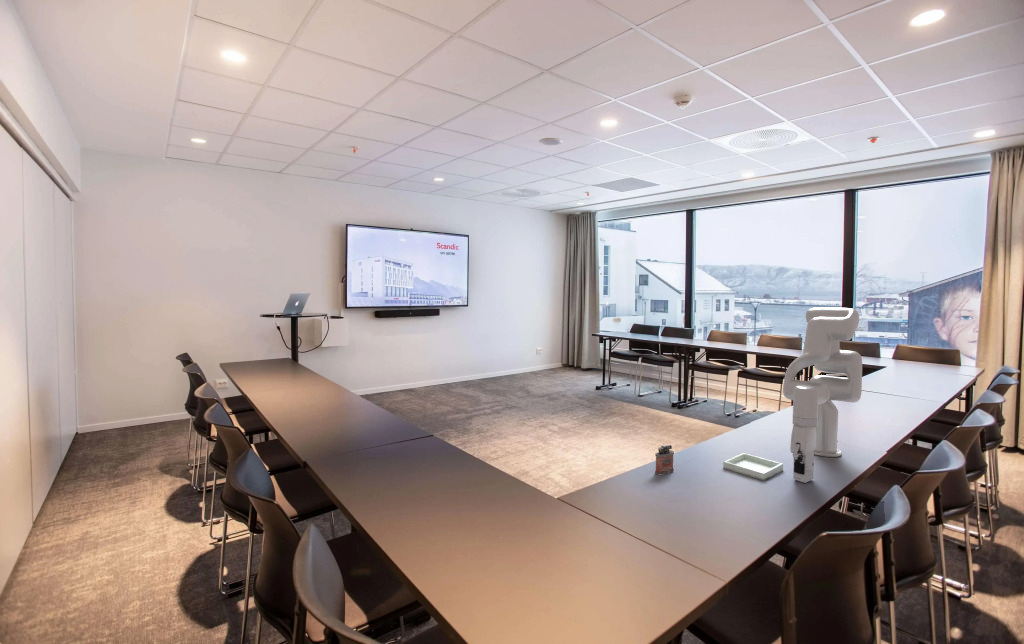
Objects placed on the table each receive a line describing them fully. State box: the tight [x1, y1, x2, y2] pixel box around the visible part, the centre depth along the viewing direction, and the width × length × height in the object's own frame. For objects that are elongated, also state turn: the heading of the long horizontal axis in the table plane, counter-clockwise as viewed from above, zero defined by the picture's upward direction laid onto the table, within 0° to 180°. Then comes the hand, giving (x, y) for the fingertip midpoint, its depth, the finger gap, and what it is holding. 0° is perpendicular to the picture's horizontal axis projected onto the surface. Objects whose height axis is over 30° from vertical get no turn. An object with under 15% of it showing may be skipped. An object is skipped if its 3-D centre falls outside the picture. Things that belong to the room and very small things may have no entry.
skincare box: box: [792, 450, 815, 484], centre depth 168 cm, size 6×4×12 cm
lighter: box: [654, 444, 675, 475], centre depth 177 cm, size 8×3×10 cm, turn 117°
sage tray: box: [722, 452, 784, 481], centre depth 179 cm, size 15×15×2 cm
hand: (803, 470), depth 168 cm, fingers closed on skincare box, 6 cm apart
